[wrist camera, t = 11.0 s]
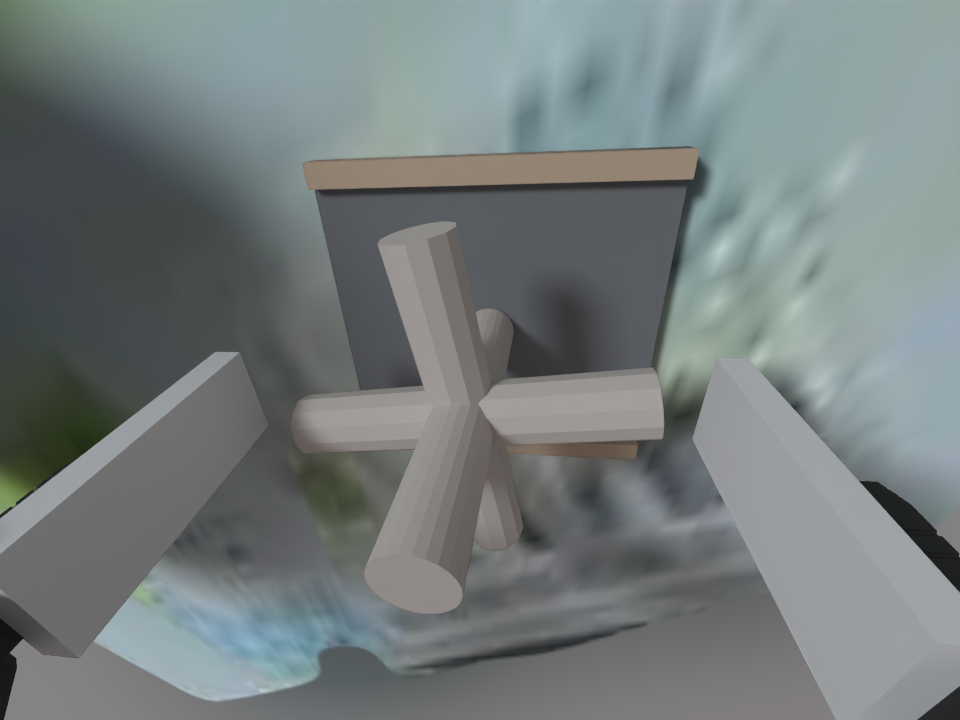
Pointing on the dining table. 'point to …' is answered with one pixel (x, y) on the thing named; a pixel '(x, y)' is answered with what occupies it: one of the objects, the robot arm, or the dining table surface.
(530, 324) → the mat
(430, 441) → the pipe connector
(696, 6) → the dining table surface
